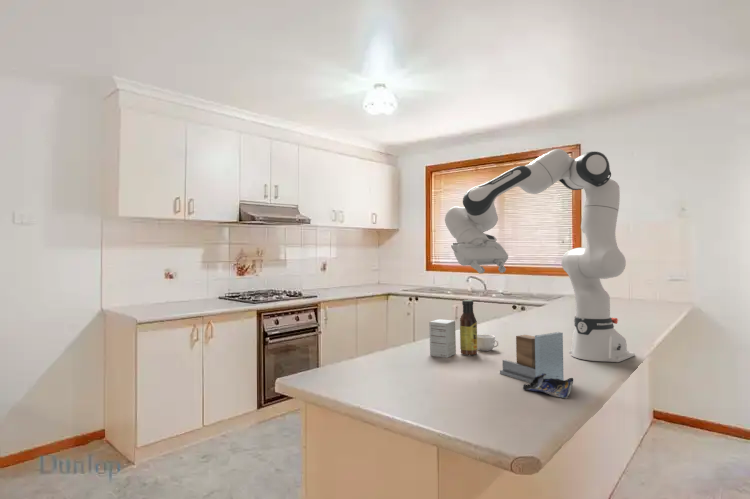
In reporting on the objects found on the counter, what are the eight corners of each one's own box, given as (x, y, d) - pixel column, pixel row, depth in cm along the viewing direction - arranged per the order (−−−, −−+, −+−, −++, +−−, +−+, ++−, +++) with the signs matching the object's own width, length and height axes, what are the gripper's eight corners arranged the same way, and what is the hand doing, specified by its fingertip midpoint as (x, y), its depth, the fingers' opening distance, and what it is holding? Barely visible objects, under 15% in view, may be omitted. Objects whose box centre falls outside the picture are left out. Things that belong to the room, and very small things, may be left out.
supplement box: (438, 351, 174) (438, 318, 174) (456, 354, 169) (455, 320, 169) (429, 355, 168) (428, 321, 168) (447, 358, 163) (446, 323, 163)
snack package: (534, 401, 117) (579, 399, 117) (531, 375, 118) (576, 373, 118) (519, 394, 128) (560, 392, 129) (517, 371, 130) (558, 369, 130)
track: (522, 369, 147) (521, 325, 147) (563, 380, 133) (562, 332, 133) (499, 373, 142) (499, 328, 142) (539, 385, 128) (539, 336, 128)
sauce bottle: (477, 356, 166) (476, 301, 166) (460, 355, 167) (459, 301, 167) (477, 352, 172) (476, 299, 172) (460, 351, 173) (459, 299, 173)
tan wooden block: (525, 369, 142) (525, 334, 142) (541, 374, 137) (540, 337, 137) (516, 371, 140) (516, 336, 140) (532, 376, 135) (531, 339, 135)
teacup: (470, 349, 176) (470, 336, 176) (482, 346, 182) (482, 333, 182) (492, 353, 169) (492, 339, 169) (504, 350, 174) (503, 336, 174)
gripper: (453, 236, 152) (473, 266, 144) (498, 236, 162) (519, 264, 154) (445, 249, 156) (464, 279, 148) (489, 249, 166) (510, 276, 158)
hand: (493, 271), depth 151 cm, fingers open, 8 cm apart
